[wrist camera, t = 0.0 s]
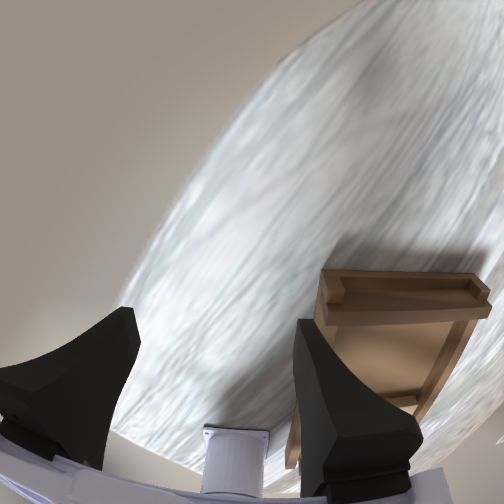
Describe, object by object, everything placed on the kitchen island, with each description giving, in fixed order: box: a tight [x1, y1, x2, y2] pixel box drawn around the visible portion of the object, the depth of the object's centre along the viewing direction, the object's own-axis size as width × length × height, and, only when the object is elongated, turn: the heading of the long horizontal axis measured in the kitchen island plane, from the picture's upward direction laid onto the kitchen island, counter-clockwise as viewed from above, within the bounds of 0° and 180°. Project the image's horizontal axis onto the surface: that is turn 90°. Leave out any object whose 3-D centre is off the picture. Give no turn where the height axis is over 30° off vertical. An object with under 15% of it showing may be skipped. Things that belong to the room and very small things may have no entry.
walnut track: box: [285, 270, 492, 469], centre depth 26 cm, size 28×15×4 cm, turn 178°
